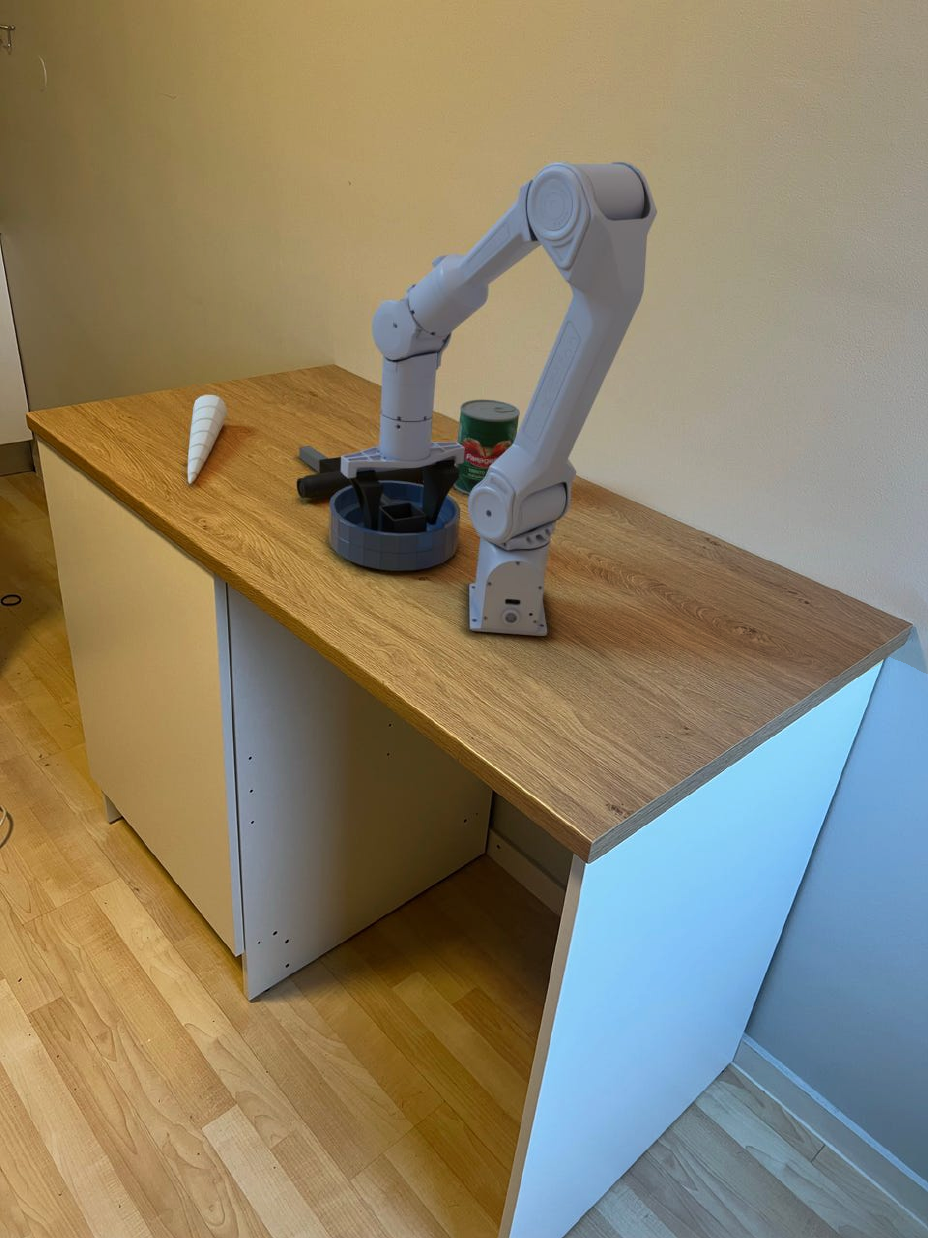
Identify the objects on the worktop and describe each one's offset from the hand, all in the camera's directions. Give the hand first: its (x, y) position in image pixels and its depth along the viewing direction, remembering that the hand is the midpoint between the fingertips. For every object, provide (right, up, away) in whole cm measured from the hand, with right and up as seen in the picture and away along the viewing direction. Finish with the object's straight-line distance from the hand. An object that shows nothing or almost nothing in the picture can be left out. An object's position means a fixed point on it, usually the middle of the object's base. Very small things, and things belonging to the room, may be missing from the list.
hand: (400, 526), depth 108 cm
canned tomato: (+10, +7, +20) cm, 24 cm away
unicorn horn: (-29, +13, +22) cm, 38 cm away
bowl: (-1, -2, +3) cm, 3 cm away
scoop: (-1, -1, +2) cm, 3 cm away
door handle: (-8, +9, +19) cm, 23 cm away
